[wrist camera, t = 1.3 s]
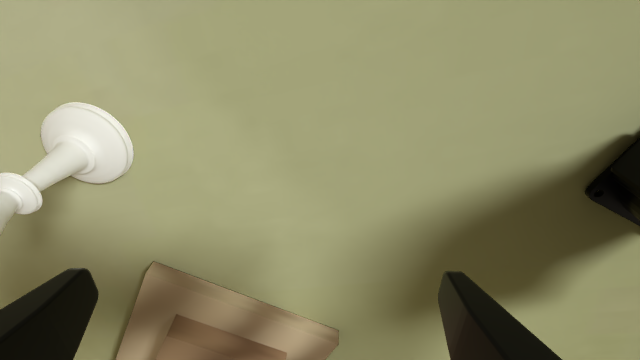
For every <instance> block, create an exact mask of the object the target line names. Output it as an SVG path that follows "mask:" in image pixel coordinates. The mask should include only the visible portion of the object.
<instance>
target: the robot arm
mask: <svg viewBox="0 0 640 360" xmlns="http://www.w3.org/2000/svg"><path fill="white" fill-rule="evenodd" d="M597 190H599V191H598V192H597V193H595V192H596V191H597ZM585 194H586V195H587V196H588V197H589V198H590V199H591V200H593V201H595V202H596V203H598V204H600V205H602V206H604V207H606V208H608V209H609V210H611V211H613V212H615V213H617V214H619V215H621V216H622V217H624V218H626V219H628V220H630V221H632V222H634V223H635V224H637V225H639V226H640V138H639V139H638V140H637V141H636V142H635V143H634V144H633V145H632V146H631V147H630V148H629V149H627V150H626V151H625V152H624V153H623V154H622V155H621V156H620V157H619V158H618V159H617V160H616V161H615V162H614V163H613V164H611V165H610V166H609V167H608V168H607V169H606V170H605V171H604V172H603V173H602V174H601V175H600V176H599V177H598V178H597V179H595V180H594V181H593V182H592V183H591V184H590V185H589V186H588V187H587V188H586V191H585ZM97 300H98V289H97V287H96V285H95V282H94V280H93V278H92V276H91V273H90V271H89V270H87V269H85V268H71V269H67V270H66V271H64V272H62V273H61V274H59V275H57V276H56V277H54V278H52V279H51V280H49V281H47V282H46V283H44V284H42V285H41V286H39V287H37V288H36V289H34V290H32V291H31V292H29V293H27V294H26V295H24V296H22V297H21V298H19V299H17V300H16V301H14V302H12V303H11V304H9V305H7V306H6V307H4V308H2V309H1V310H0V360H73V358H74V356H75V354H76V352H77V349H78V347H79V345H80V342H81V340H82V337H83V335H84V332H85V330H86V327H87V325H88V322H89V320H90V318H91V315H92V313H93V310H94V308H95V305H96V303H97ZM438 303H439V307H440V312H441V317H442V322H443V326H444V331H445V336H446V340H447V345H448V350H449V354H450V359H451V360H562V359H561V358H560V357H559V356H557V355H556V354H555V353H554V352H553V351H552V350H551V349H549V348H548V347H547V346H546V345H545V344H544V343H543V342H542V341H540V340H539V339H538V338H537V337H536V336H535V335H534V334H532V333H531V332H530V331H529V330H528V329H527V328H526V327H524V326H523V325H522V324H521V323H520V322H519V321H518V320H516V319H515V318H514V317H513V316H512V315H511V314H510V313H508V312H507V311H506V310H505V309H504V308H503V307H502V306H500V305H499V304H498V303H497V302H496V301H495V300H494V299H493V298H491V297H490V296H489V295H488V294H487V293H486V292H485V291H483V290H482V289H481V288H480V287H479V286H478V285H477V284H475V283H474V282H473V281H472V280H471V279H470V278H469V277H467V276H466V275H465V274H464V273H463V272H460V271H446V272H445V273H444V274H443V277H442V281H441V285H440V289H439V293H438Z"/></svg>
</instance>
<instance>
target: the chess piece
mask: <svg viewBox="0 0 640 360" xmlns="http://www.w3.org/2000/svg"><path fill="white" fill-rule="evenodd" d="M41 139H42V143H43V146H44V148H45V150H46V152H47V155H46V156H45V157H44V158H43V159H42V160H40V161H39V162H38V163H37V164H36V165H35V166H34V167H32V168H31V169H30V170H29V171H28V172H26V173H25V174H24V175H23V176H21V175H18V174H15V173H8V172H6V173H0V235H1V233H2V232H3V230H4V228H5V226H6V224H7V223H8V221H9V220H10V219H11V218H12V216H13V214H14V213H17V214H30V213H32V212H35V211H37V210H39V209H40V207H41V206H42V202H43V200H42V195H41V193H40V192H41V191H43V190H45V189H46V188H48V187H50V186H51V185H53V184H55V183H57V182H59V181H61V180H63V179H65V178H67V177H68V176H72V177H74V178H76V179H79V180H81V181H84V182H89V183H107V182H111V181H113V180H115V179H117V178H118V177H120V176H122V175H123V174H125V173H126V172H127V171H128V170H129V168H130V166H131V164H132V162H133V156H134V152H133V146H132V142H131V139H130V137H129V135H128V133H127V132H126V130H125V129H124V127H123V126H122V125H121V124H120V123H119V122H118V121H117V120H116V119H115V118H114V117H113V116H112V115H110V114H109V113H107V112H106V111H104V110H102V109H100V108H98V107H96V106H93V105H90V104H87V103H81V102H71V103H66V104H63V105H61V106H59V107H57V108H56V109H55V110H54V111H52V112H51V113H49V114H48V115H47V116H46V118H45V119H44V121H43V123H42V127H41Z"/></svg>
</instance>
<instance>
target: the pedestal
mask: <svg viewBox="0 0 640 360" xmlns="http://www.w3.org/2000/svg"><path fill="white" fill-rule="evenodd" d="M338 344H339V331H338V330H336V329H333V328H330V327H328V326H325V325H322V324H320V323H317V322H314V321H312V320H309V319H306V318H303V317H301V316H298V315H295V314H293V313H290V312H287V311H285V310H282V309H279V308H277V307H274V306H271V305H269V304H266V303H263V302H261V301H258V300H255V299H253V298H250V297H247V296H245V295H242V294H239V293H237V292H234V291H231V290H229V289H226V288H223V287H221V286H218V285H215V284H213V283H210V282H207V281H205V280H202V279H199V278H197V277H194V276H191V275H189V274H186V273H183V272H181V271H178V270H175V269H173V268H170V267H167V266H165V265H162V264H159V263H156V262H154V261H153V263H152V264H151V266H150V267H149V269H148V271H147V272H146V274H145V277H144V279H143V282H142V285H141V288H140V291H139V294H138V297H137V300H136V302H135V305H134V308H133V311H132V314H131V317H130V320H129V322H128V325H127V328H126V331H125V334H124V337H123V340H122V342H121V345H120V348H119V351H118V354H117V357H116V360H325V359H326V358H327V357H328V356H329V355H330V353H331V352H332V351H333V350H334V349H335V348H336V347H337V345H338Z"/></svg>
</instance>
